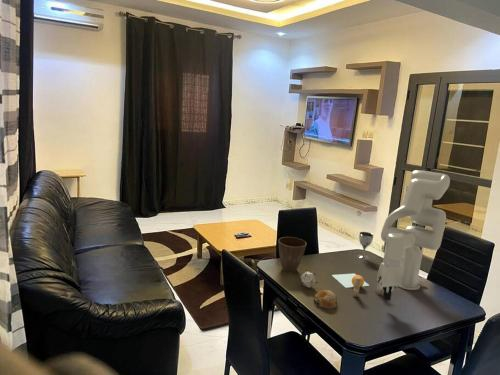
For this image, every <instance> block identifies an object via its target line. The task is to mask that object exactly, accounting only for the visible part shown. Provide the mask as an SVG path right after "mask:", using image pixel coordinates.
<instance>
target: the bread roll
mask: <svg viewBox="0 0 500 375" xmlns="http://www.w3.org/2000/svg"><path fill="white" fill-rule="evenodd" d="M313 297H314V298H313V302H314V303H315V304H316V305H317V306H318V307H320V308H323V309H334V308H337V306H338V302H337V301H338V298H337V295H336V294H335V293H334V292H333V291H332V290H328V289H322V290H319V291H318V292H317V293H316V294H315V295H314V296H313Z"/></svg>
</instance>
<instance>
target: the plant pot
mask: <svg viewBox="0 0 500 375" xmlns="http://www.w3.org/2000/svg"><path fill="white" fill-rule="evenodd" d="M306 247H307V242H306V241H305V240H303V239H301V238H298V237H293V236H284V237H283V236H282V237H280V238H279V239H278V254H279V260H280V265H281V269H282V271H284V272H286V273H295V272H296V271H297V270H298V268H299V266H300V264H301V262H302V260H303V257H304V254H305V251H306Z"/></svg>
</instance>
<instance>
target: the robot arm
mask: <svg viewBox="0 0 500 375" xmlns="http://www.w3.org/2000/svg"><path fill="white" fill-rule="evenodd" d="M450 183H451V178H450V176H449V175H448V174H445V173H443V172H442V173H441V172H434V171H430V170H429V171H428V170H422V169H421V170H419V169H415V170H413V171H412V172H411V174H410V181H409V183H408V184H407V185H408V186H407V188H406V191H405V194H404V197H403V200H402V202H401V205H400V207H398V208H397V209H395V210H393V211H392V212H391V213H390V214H388V215H387V217H386V218H385V220H384V224H383V225H382V226H383V227H382V229H381V231H380V238H381V241H383V242H384V243H385V247H384V252H383V261H382V262H380V265H379V267H378V272H377V276H376V284H377V283H379V284H378V288H379V289H382V291H383V292H382V298H383V299H384V300H386V301H387V302H389V301H391V298H392V294H393V292H394V290H395V289H396V288H398V287H399V288H401V289H404V290H408V291H417V290H420V288H421V285H420V283H421V282H422V283H423V282H425V280H426V278H424V277H420V269H421V264H422V259H423V253H422V249H421V248H424V249H425V250H426V249H427V250H430V251H438V250H439V248H440V247H441V245H442V241H443V236H444V230H445V227H446V222H447V214H446V212H445V211H444V210H442V209H440V208H436V207H432V205H433V200H435V201H438V200H440V199H441V198H442V197H443V196H444V194H445V193H446V191H447V190H448V189H449V187H450V185H451V184H450ZM406 217H410V221H411V222H412V223H414V224H418V225H420V226H417V225H408V226H406V227H405V228H404V229H402V228H397V227H393V224H394V223H395V222H396V221H397V220H399V219H402V218H406ZM421 226H425V227H429V228H432V229H429V228H425V227H421Z"/></svg>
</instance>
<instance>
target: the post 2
mask: <svg viewBox="0 0 500 375" xmlns="http://www.w3.org/2000/svg"><path fill="white" fill-rule="evenodd" d="M378 284H379V283H377V282H376V290H375V294H376V295H378V296H381V295H383V289H379V288H378Z"/></svg>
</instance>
